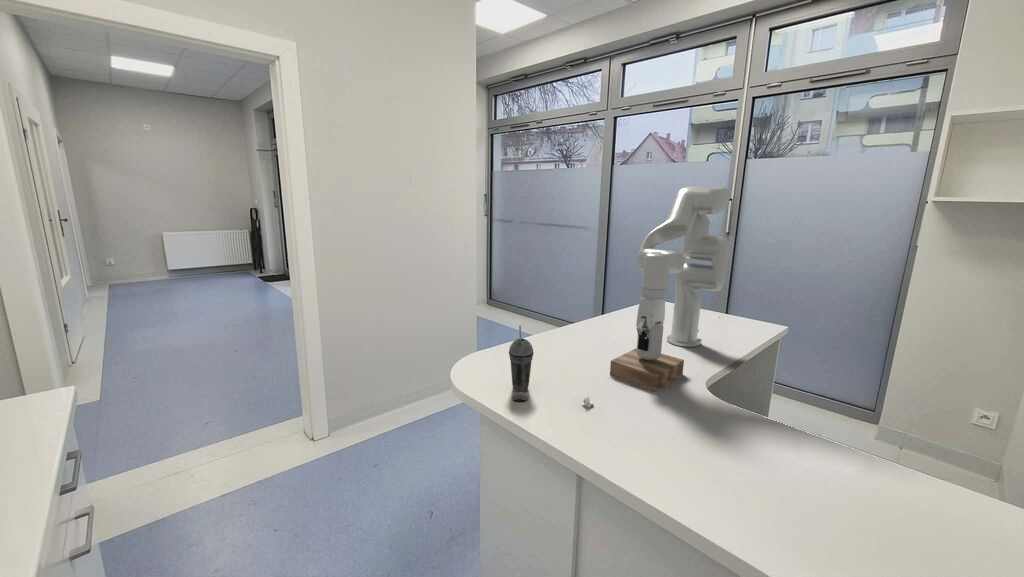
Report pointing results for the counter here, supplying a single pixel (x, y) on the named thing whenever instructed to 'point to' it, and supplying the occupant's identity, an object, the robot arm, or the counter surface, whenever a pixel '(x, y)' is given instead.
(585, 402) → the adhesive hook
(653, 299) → the robot arm
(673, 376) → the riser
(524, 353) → the beverage cup
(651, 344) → the can
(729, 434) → the counter surface
